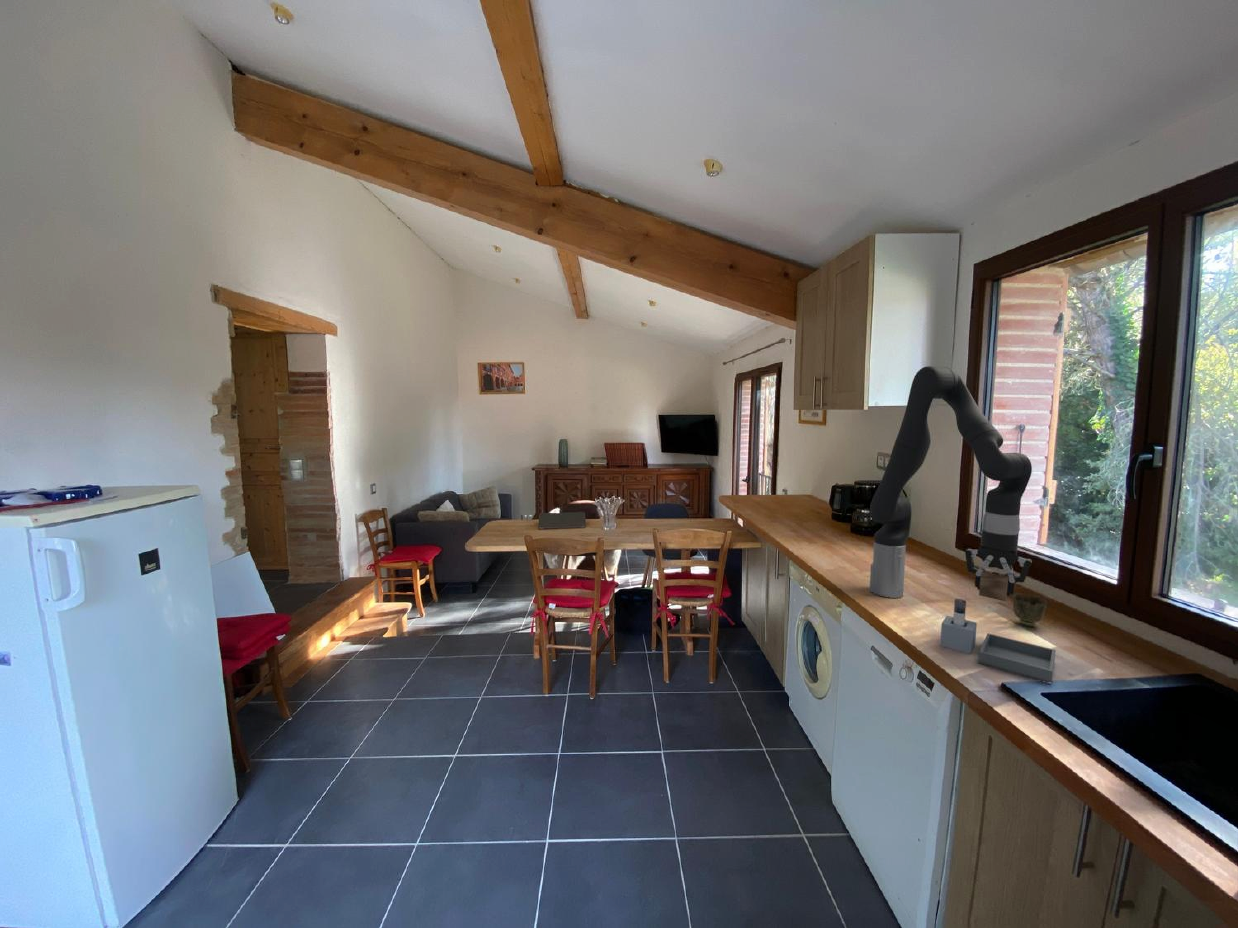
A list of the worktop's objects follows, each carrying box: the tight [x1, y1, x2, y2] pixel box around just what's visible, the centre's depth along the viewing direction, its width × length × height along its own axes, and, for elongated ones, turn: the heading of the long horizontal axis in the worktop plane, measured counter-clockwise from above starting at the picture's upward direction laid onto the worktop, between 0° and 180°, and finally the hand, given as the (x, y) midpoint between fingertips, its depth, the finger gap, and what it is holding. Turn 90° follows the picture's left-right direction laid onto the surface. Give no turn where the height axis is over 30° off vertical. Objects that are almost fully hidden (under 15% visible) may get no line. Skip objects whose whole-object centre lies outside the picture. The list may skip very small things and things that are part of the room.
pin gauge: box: [953, 598, 967, 627], centre depth 126 cm, size 2×2×12 cm
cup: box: [1012, 592, 1048, 628], centre depth 137 cm, size 8×7×8 cm
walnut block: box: [978, 568, 1009, 602], centre depth 128 cm, size 6×6×6 cm
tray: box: [978, 633, 1057, 683], centre depth 117 cm, size 13×13×3 cm
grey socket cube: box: [939, 615, 978, 655], centre depth 126 cm, size 6×6×6 cm
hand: (994, 591), depth 128 cm, fingers closed on walnut block, 5 cm apart
